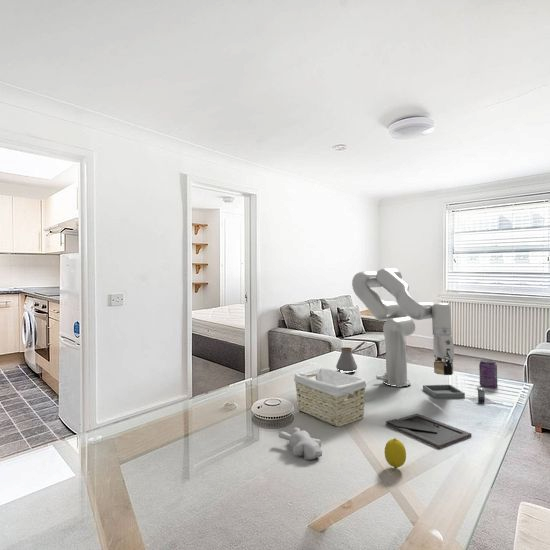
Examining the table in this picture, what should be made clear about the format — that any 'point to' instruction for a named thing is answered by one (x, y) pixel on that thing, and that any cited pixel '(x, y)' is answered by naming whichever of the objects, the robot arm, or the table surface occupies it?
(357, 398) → the storage basket
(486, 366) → the beverage can
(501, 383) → the table surface
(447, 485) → the table surface
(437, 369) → the maple ring
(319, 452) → the bunny figurine
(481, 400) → the grey knobbed square plate
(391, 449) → the lemon
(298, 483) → the table surface
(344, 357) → the coffee pot
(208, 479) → the table surface
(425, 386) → the charcoal tray
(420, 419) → the picture frame
